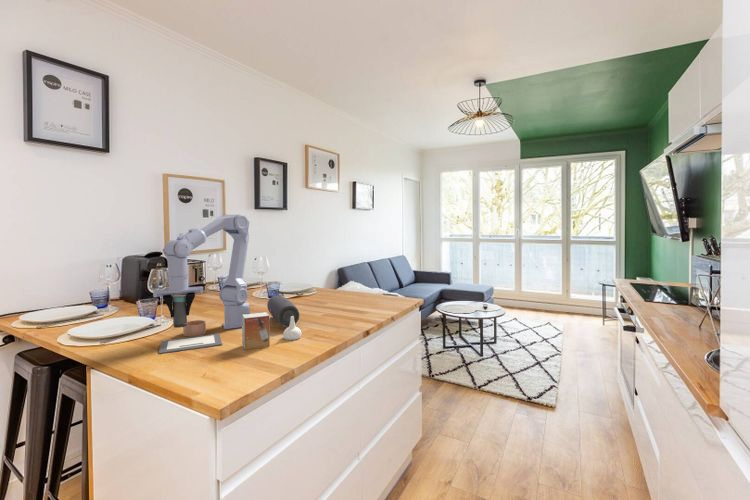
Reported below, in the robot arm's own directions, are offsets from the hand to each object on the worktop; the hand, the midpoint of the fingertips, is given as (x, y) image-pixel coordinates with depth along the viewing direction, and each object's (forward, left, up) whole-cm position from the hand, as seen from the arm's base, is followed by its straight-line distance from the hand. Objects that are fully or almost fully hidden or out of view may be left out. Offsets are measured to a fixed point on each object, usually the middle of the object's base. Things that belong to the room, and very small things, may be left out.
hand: (179, 315), depth 117 cm
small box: (-22, +15, -10) cm, 28 cm away
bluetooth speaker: (-36, -9, -10) cm, 39 cm away
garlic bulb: (-35, +12, -10) cm, 38 cm away
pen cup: (-4, -9, -9) cm, 14 cm away
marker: (0, 0, -3) cm, 3 cm away
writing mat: (-3, +2, -9) cm, 10 cm away
